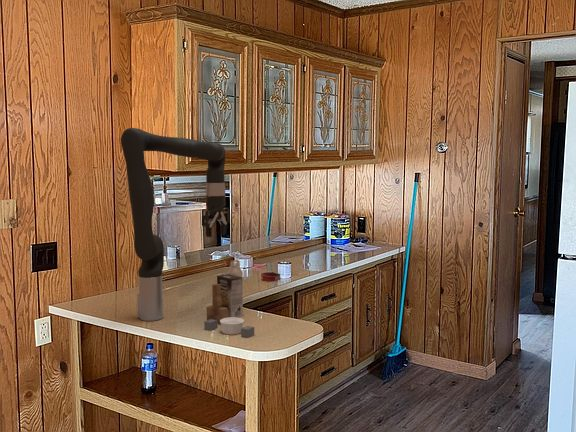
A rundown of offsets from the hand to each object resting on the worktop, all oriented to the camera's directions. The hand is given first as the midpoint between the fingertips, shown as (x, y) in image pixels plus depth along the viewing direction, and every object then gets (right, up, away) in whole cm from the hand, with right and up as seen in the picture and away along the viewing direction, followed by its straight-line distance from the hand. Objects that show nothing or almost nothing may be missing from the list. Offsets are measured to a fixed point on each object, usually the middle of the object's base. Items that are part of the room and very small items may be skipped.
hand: (216, 235), depth 245 cm
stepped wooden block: (+1, -34, -2) cm, 34 cm away
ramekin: (+8, -35, -14) cm, 39 cm away
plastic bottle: (+6, -31, +20) cm, 38 cm away
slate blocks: (+7, -35, -15) cm, 39 cm away
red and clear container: (+19, -25, +77) cm, 83 cm away
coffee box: (+5, -33, +8) cm, 34 cm away
